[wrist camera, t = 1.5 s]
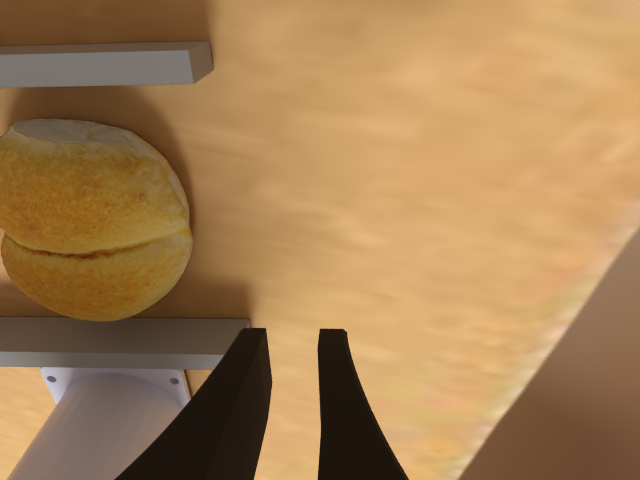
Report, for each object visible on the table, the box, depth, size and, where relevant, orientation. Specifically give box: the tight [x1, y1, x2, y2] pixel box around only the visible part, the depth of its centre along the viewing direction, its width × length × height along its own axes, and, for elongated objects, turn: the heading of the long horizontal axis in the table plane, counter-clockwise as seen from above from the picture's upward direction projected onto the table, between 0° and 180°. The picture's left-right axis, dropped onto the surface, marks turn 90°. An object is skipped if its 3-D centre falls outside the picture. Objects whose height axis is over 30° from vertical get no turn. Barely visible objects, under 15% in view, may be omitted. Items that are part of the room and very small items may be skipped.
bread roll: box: [0, 118, 193, 322], centre depth 18 cm, size 8×9×4 cm
